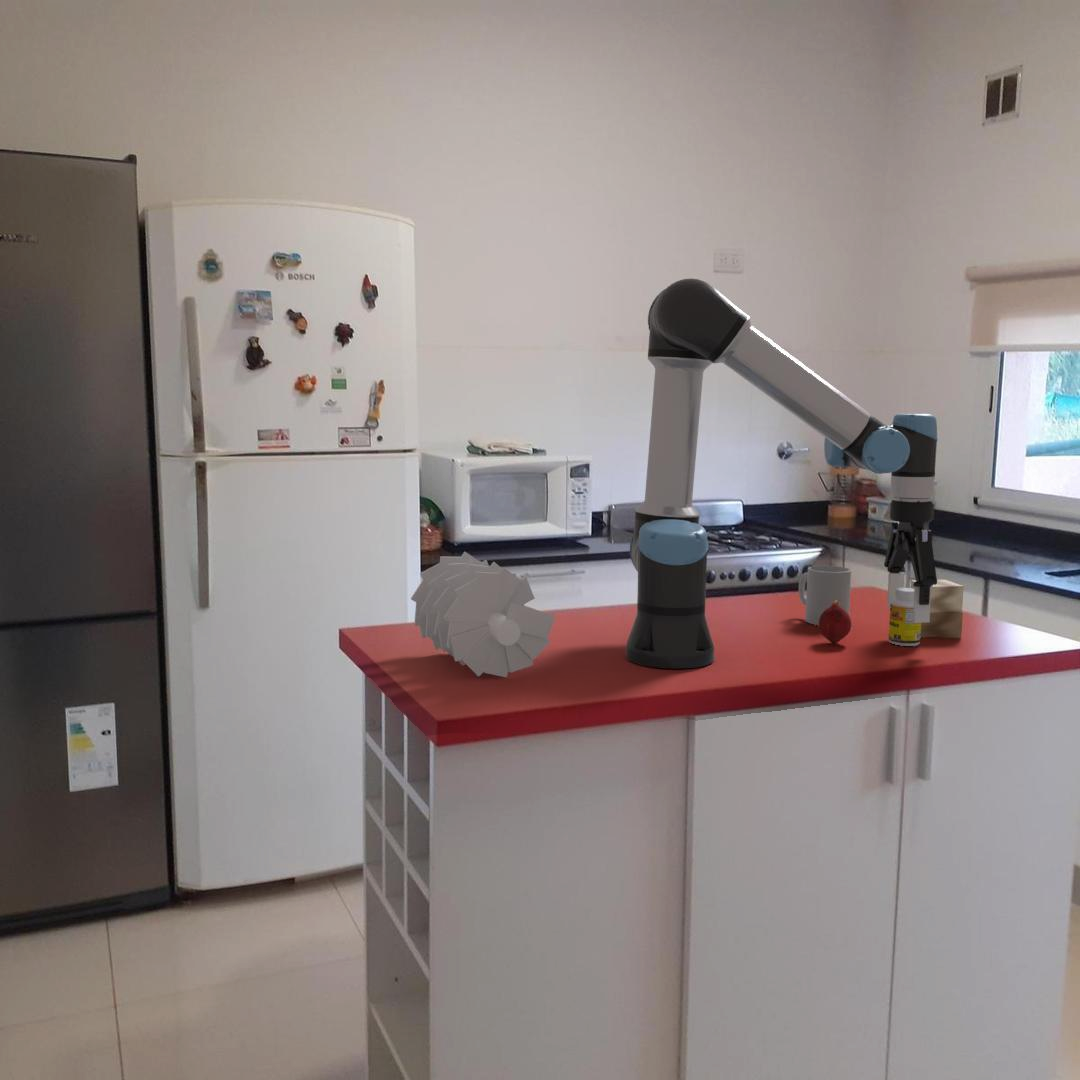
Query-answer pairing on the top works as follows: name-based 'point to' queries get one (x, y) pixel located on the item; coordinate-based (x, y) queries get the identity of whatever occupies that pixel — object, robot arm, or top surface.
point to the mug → (824, 590)
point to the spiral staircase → (480, 615)
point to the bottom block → (943, 625)
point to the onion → (834, 623)
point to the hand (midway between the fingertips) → (907, 614)
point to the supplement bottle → (903, 619)
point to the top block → (945, 596)
